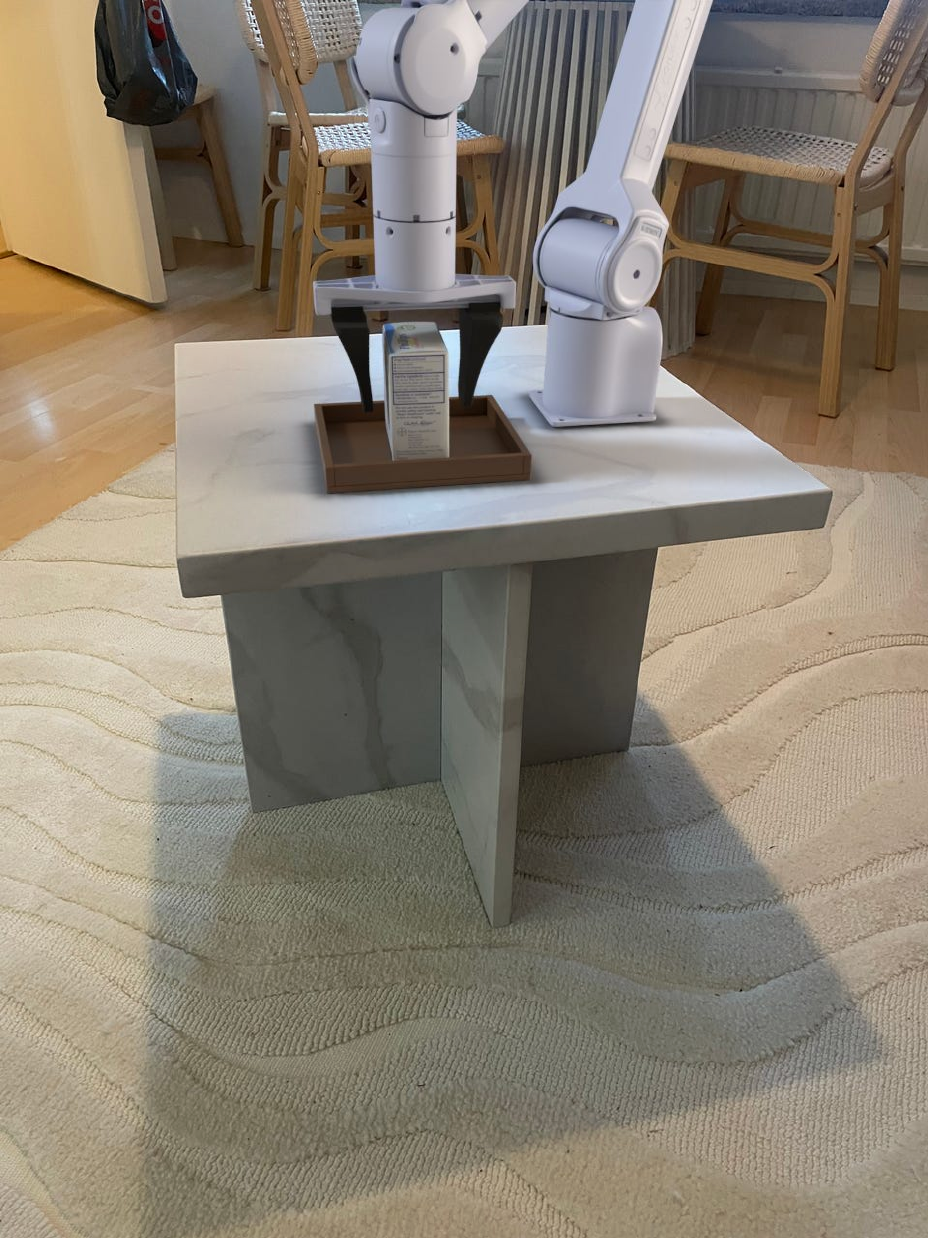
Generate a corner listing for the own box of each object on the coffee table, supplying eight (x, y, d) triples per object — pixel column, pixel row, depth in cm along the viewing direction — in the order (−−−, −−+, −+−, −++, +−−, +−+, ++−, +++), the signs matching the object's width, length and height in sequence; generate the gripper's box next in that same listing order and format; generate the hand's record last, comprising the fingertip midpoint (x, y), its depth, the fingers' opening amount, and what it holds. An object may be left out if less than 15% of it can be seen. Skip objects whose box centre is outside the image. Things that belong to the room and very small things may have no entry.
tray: (491, 416, 79) (492, 394, 78) (530, 479, 69) (532, 455, 68) (315, 426, 77) (313, 403, 76) (327, 493, 66) (325, 468, 65)
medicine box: (449, 464, 70) (451, 350, 65) (391, 466, 69) (388, 352, 64) (437, 425, 76) (438, 320, 71) (384, 427, 75) (380, 321, 71)
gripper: (503, 204, 68) (496, 383, 75) (305, 206, 65) (318, 391, 73) (527, 221, 62) (517, 413, 69) (311, 225, 59) (325, 424, 67)
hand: (416, 404), depth 71 cm, fingers open, 7 cm apart
